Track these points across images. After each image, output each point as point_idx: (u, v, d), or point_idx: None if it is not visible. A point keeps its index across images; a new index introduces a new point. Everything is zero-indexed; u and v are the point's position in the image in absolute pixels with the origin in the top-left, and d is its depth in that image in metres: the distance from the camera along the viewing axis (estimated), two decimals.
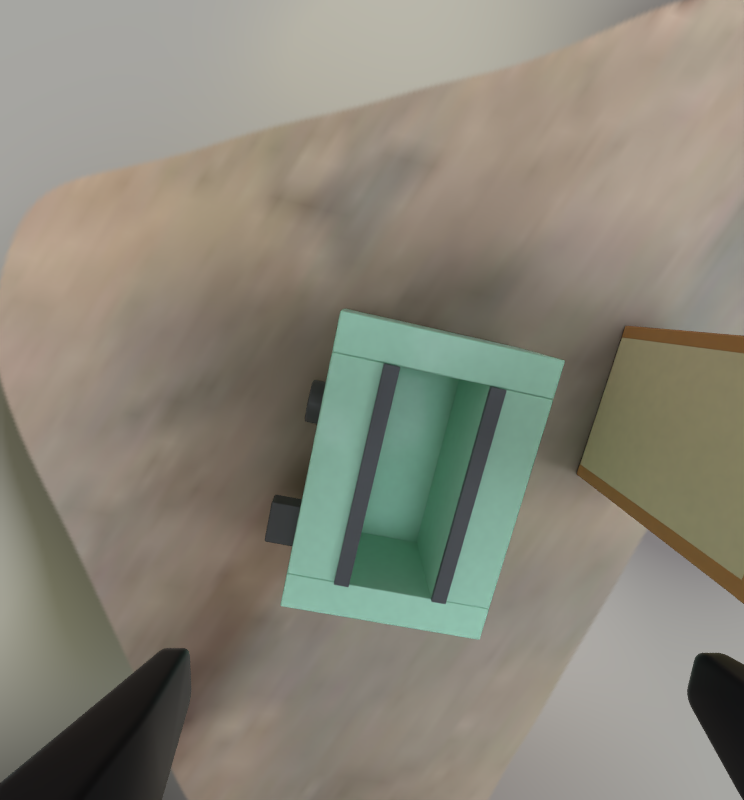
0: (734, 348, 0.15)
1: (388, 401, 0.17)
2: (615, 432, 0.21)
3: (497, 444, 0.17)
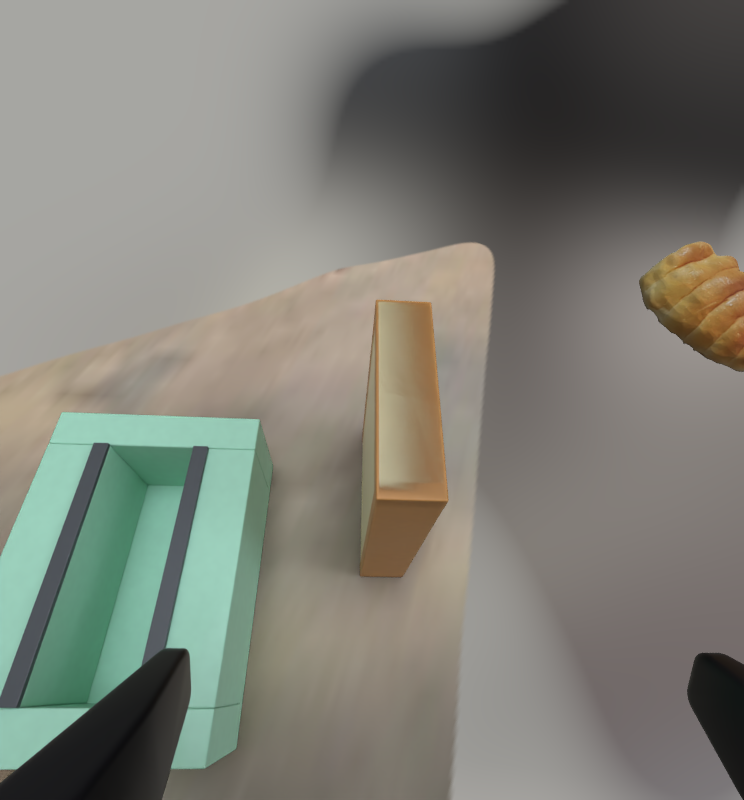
0: (369, 371, 0.20)
1: (94, 471, 0.18)
2: (363, 504, 0.21)
3: (206, 496, 0.18)
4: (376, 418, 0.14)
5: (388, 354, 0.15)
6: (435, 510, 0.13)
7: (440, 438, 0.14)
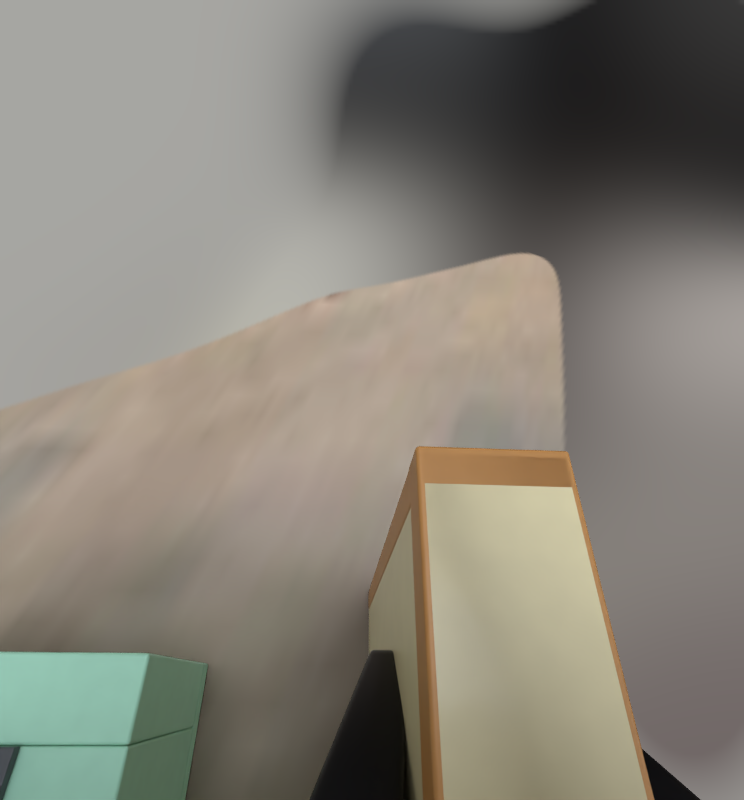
0: (387, 554, 0.09)
1: None
2: None
3: None
4: None
5: (469, 673, 0.05)
6: None
7: None
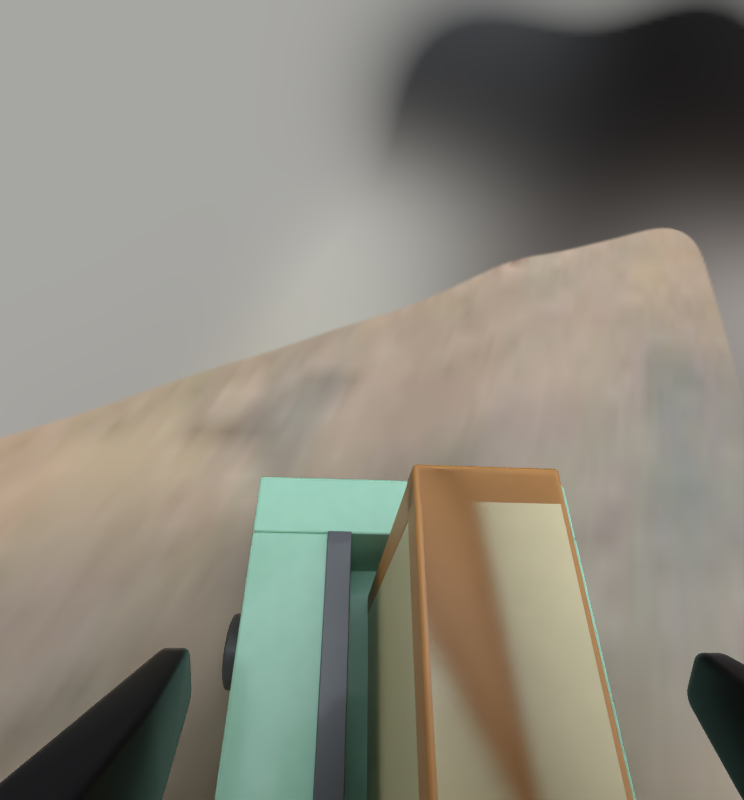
0: (386, 563, 0.09)
1: (344, 586, 0.11)
2: (371, 795, 0.11)
3: None
4: None
5: (462, 681, 0.05)
6: None
7: None
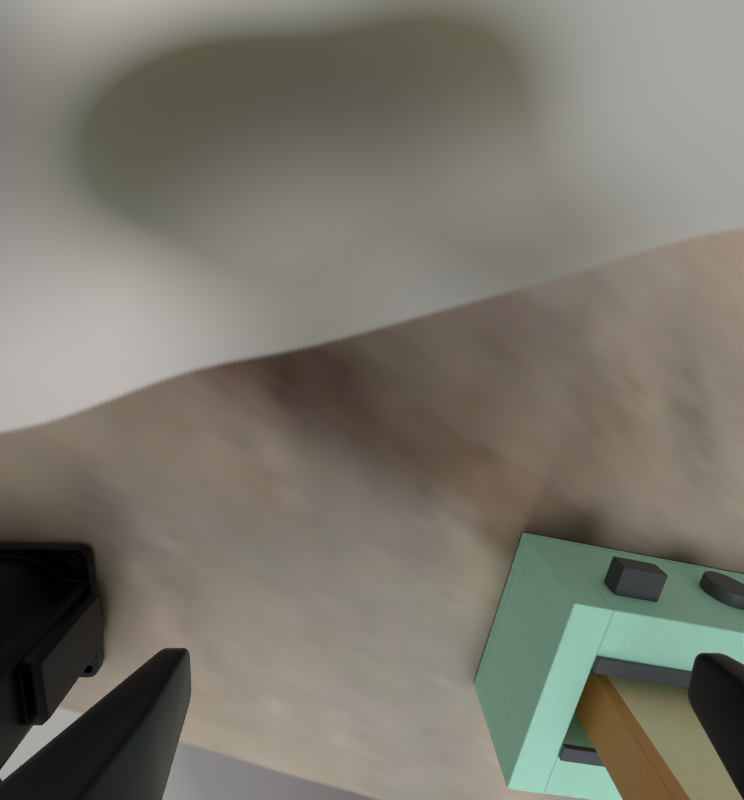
0: None
1: None
2: None
3: None
4: None
5: None
6: None
7: None
